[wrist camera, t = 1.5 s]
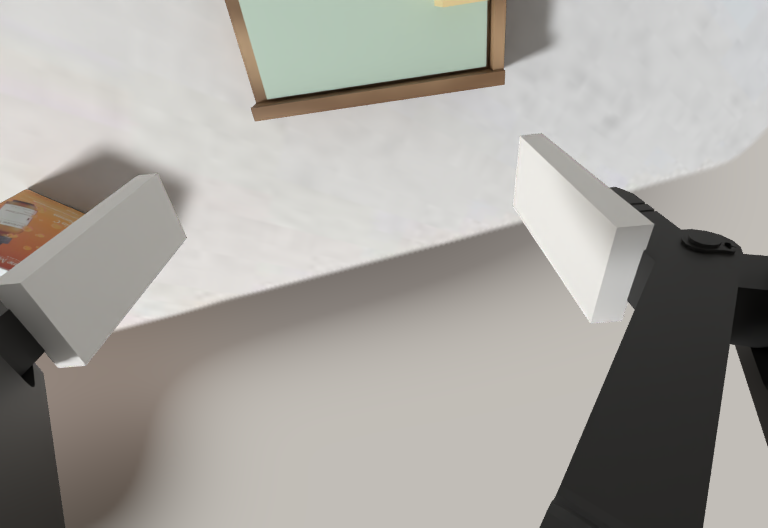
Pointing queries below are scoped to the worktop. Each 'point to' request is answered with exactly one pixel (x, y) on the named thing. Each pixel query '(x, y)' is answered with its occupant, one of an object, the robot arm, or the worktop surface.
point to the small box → (30, 225)
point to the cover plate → (361, 41)
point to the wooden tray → (375, 91)
